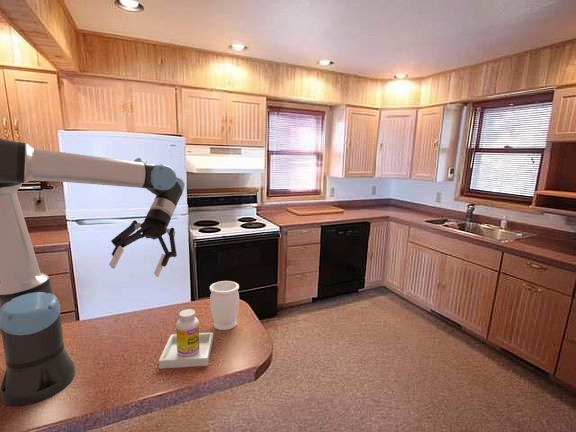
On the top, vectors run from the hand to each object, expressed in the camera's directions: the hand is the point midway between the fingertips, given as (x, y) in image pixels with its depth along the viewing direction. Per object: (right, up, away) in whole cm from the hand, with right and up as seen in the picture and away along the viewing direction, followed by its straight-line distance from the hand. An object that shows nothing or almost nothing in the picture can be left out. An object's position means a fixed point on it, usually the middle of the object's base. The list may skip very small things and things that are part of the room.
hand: (134, 270), depth 92 cm
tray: (+16, -26, +2) cm, 30 cm away
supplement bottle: (+16, -26, +2) cm, 30 cm away
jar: (+24, -23, +19) cm, 38 cm away
